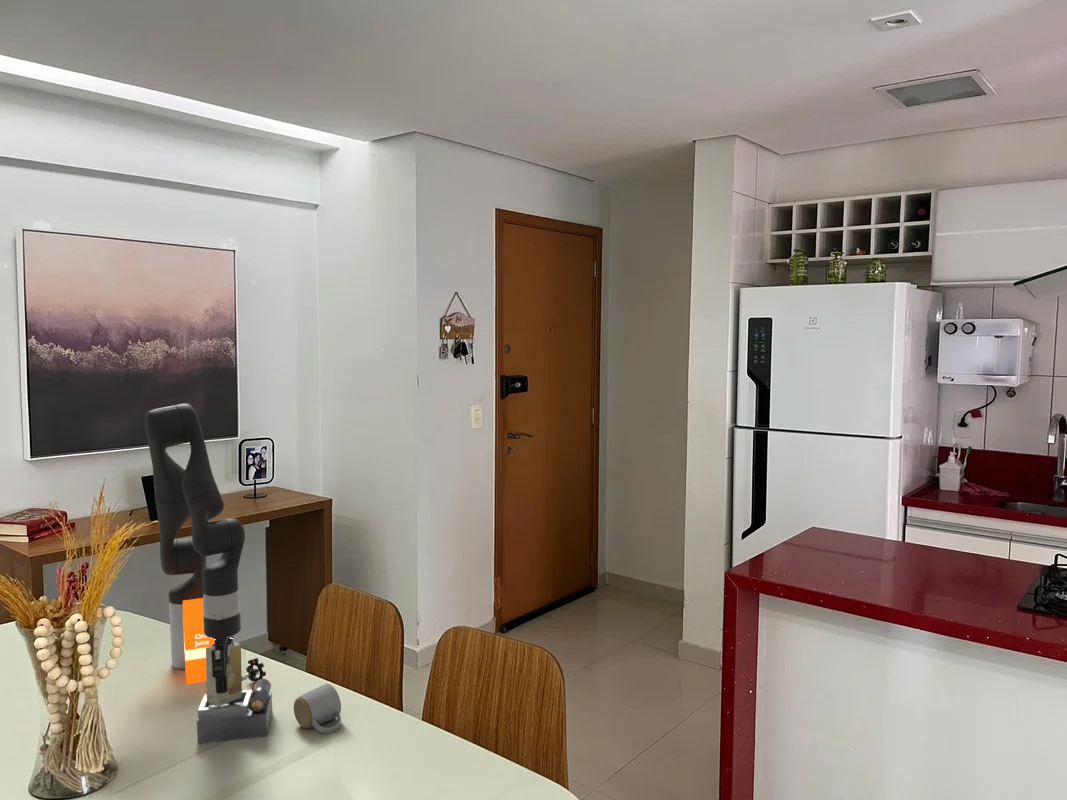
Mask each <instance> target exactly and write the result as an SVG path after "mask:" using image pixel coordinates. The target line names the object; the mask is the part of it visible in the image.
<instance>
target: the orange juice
mask: <svg viewBox="0 0 1067 800" xmlns="http://www.w3.org/2000/svg"><path fill="white" fill-rule="evenodd" d="M183 626H184V650H185V668H186V669H185V679H186V685H189V684H190V685H191V684H194V683H201V682H202V683H203V682H206V648H207V647H210V646H212V644H214V640H215V639H214V638H209V637H207V636H205V634H204V622H203V598H199V599H192V600H185V601H183Z"/></svg>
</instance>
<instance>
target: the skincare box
mask: <svg viewBox="0 0 1067 800" xmlns="http://www.w3.org/2000/svg"><path fill="white" fill-rule="evenodd" d="M211 652H212V646H210V647H207V648H206V681H205V682H206V683H205V684H206V686H205V687H206V694H207V702H209V703H211V704H212V705H215V706H217V707H218V706H221V705H223V704H226V703H229V702H231V701H234V700H236V699H239V698H241V697H242V691H243V685H242V684H243V683H242V682H243V681H242V644H241V643H239V642H236V641H235V640H234V643H233V644H232V650H231V653H230V664H229V665H228V666H227V672H228V674H227V692H226V693H220V694H218V693H216V678H213V676H212V655H211ZM226 659H227V658H225V660H226ZM218 671H222V667H218Z"/></svg>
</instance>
